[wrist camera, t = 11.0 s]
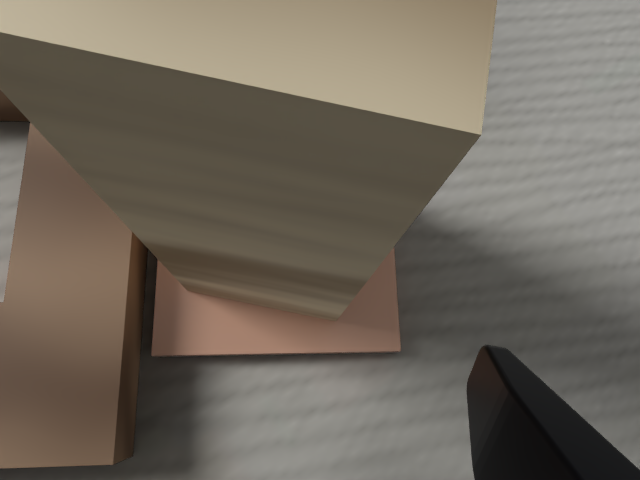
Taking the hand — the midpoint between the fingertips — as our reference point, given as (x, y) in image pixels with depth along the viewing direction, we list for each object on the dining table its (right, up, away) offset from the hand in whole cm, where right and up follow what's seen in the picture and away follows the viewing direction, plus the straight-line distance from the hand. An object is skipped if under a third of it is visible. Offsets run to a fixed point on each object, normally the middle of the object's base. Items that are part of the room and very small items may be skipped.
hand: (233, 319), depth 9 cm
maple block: (0, +2, +9) cm, 9 cm away
